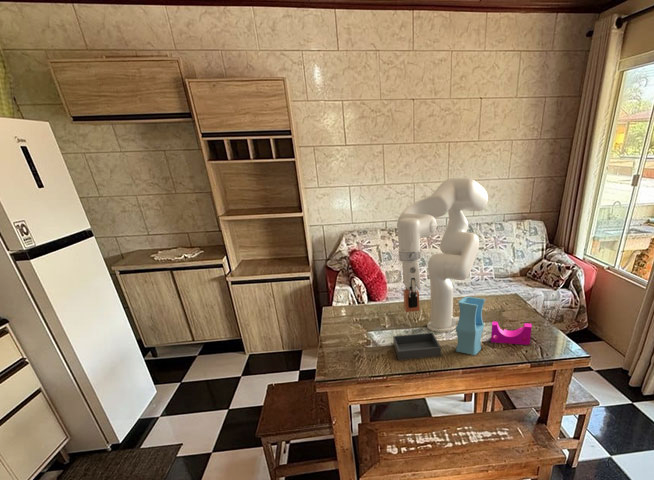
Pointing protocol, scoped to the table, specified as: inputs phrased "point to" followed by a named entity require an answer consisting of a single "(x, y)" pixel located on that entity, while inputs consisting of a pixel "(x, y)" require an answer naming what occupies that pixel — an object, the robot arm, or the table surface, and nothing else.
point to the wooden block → (406, 304)
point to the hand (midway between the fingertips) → (411, 304)
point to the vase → (470, 325)
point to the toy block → (511, 334)
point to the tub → (416, 346)
